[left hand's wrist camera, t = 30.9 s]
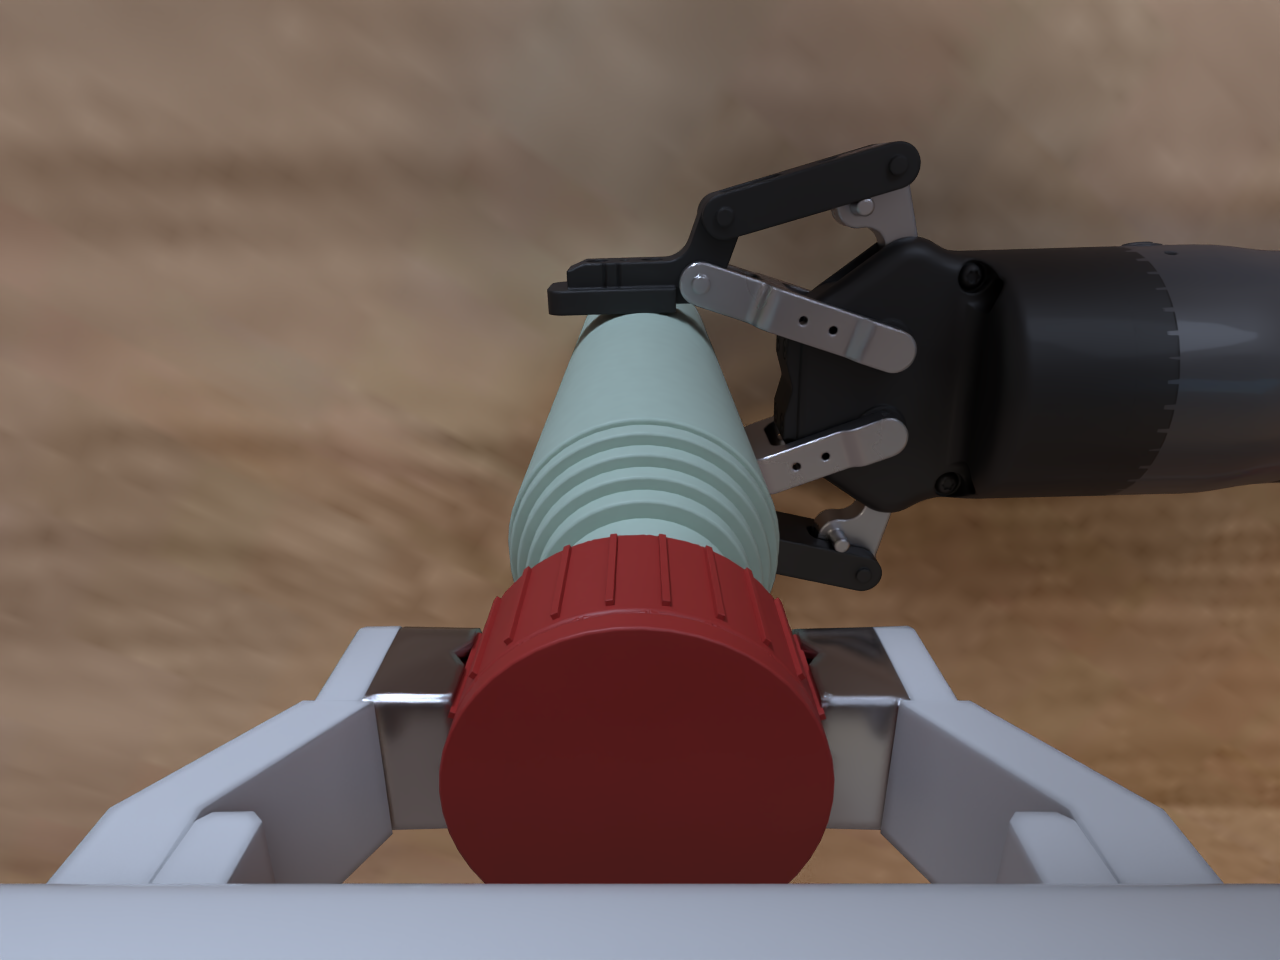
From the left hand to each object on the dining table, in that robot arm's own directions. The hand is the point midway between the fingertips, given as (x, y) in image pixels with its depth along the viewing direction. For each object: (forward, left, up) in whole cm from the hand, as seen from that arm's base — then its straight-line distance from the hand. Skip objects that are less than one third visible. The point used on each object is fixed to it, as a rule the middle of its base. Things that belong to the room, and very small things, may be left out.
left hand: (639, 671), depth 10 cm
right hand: (0, -3, -15) cm, 16 cm away
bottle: (0, 0, -22) cm, 22 cm away
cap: (0, 0, +2) cm, 2 cm away
